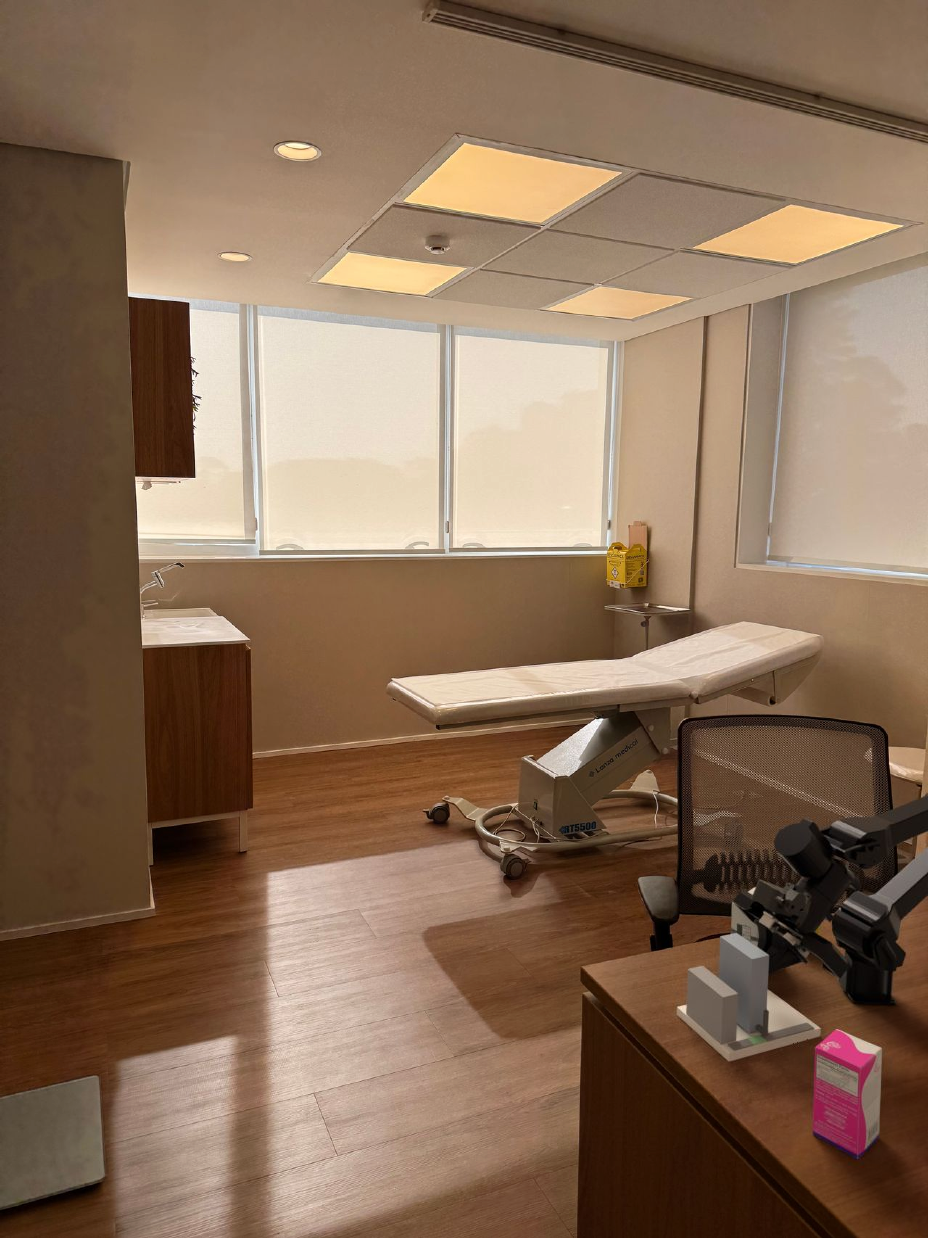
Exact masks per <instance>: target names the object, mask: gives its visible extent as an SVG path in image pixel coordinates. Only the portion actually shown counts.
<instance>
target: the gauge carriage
mask: <svg viewBox="0 0 928 1238" xmlns="http://www.w3.org/2000/svg"><path fill="white" fill-rule="evenodd" d="M718 950H719V953H718V954H719V955H718V956H719V957H718V973H717V974H718V975H717V977H718V978H719V979H720V980H722V981H723V982H724V983H725V984H727V985H728V986H729V987H730V988H732V989H733V990H734V991H736V992H737V993H738V1011H737V1023H738V1024H739V1025H740V1026H741V1027H742V1028H744V1029H745V1030H746V1031H747V1032H748V1033H750V1032H753V1031H757V1030H758V1031H759V1032H760V1033H761V1034H762V1035H764V1036H768V1020H769V1011H768V1010H767V991H768V990H769V989H768V988H769V975H768V970H769V955H768V954H767V953H765V952H764V951H762V950H761V949H759V948H758V947H756V946H755V945H753V944H752V943H751V942H749V941H748V940H746V939H745V938H743V937H742V936H740V935H739V934H737V933H734V934H731V933H730V934H725V935H721V936H719V949H718Z"/></svg>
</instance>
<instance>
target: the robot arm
mask: <svg viewBox="0 0 928 1238" xmlns="http://www.w3.org/2000/svg"><path fill="white" fill-rule="evenodd" d="M927 832H928V792H926V793H925V795H924V796H922V797H919V798H917V799H914V800H912V801H909V802H907V803H905V804H902V805H899V806H897V807H895V808H893V809H890V810H888V811H885V812H883V813H880V814H878V815H876V816H875V815H874V816H851V817H847V818H841V819H838V820H835V821H834V822H832V824H831V825H829V826H826V827H824V828H819V826H818V824H816V823H815V822H814V821H812V820H811V819H808V818H805V817H803V818H802V819H801V820H800V822H797V823H791V824H789V825H787V826H785V827H784V828H782V829H780V830H779V831H778V832H777V833H776V835H775V838H774V840H773V846H774V849H775V852H777V854H779V856H780V857H781V858H783V860H784V861H785V862H786V863H787V864H788V865H789V866H790V868H791V869H792V870H793V871H794V872H795V873H796V874H797V875H798V876H799V877H801V878H800V879H799V880H798V882H797V883H796V884H795V883H794V882H791V881H790V882H788V883H787V884H785V886H784V887H780V886H778V885H776V884H773V883H771V882H768V881H765V880H763V879H758V881H757V883H756V886H755V887H756V888H755V890H754V893H753V895H752V894H751V893H749V892H748V891H747V890H744V891H740V892H738V894H737V895H736V896H735V897H734V898H733V900H732V901H731V902H732V903H734V904H735V905H736V906H737V907H738V908H739V910H740V911H741V912H742V913H743V914H744V915H745V916H746V917H747V918H748V919H749V920H750V921H752V922H753V923H754V924H755V925H756V926H757V927H758V933H759V940H758V945H757V947H758V948H759V949H761V950H762V951H764V952H765V953H767V954H768V955H769V970H768V976H770V975H772V974H774V973H777V972H779V971H781V970H784V969H786V968H789V967H792V966H795V965H797V964H801V963H803V964H805V965H806V964H807V963H808V962H809V961H808V959H807V957H808V956H809V955H810V954H811V955H813V956H814V957H817V958H818V959H819V960H821V961H822V968H823V969H824V970H825V971H827V972H828V973H829V974H831V975H832V976H834V977H835V978H837V979H838V983H839V985H840V987H841V988H842V989H843V991H844V992H845V994H846V995H847V996H848V998H849V999H850V1000H851V1002H852V1003H853V1004H859V1005H860V1004H861V1005H885V1006H890V1005H891V1006H895V1005H896V1006H897V1000H896V999H895V998H894V996H893V995H892V993H893V992H892V991H893V977H894V972H896V971H897V968H901V967H903V965H904V962H905V959H906V956H907V953H906V951H905V950H904V949H903V948H902V947H901V946H900V945H899V943H897V941H898V939H899V937H900V930H901V929H900V928H901V922H902V920H903V919H904V918H905V917H906V916H908V915H909V913H911V912H912V911H913V910H914V909H915V908H916V907H918V905H919V904H921V902H922V901H924V900H925V898H927V897H928V846H927V847H926V848H924V850H922V851H921V852H920V853H919V854H918V855H917V856H916V857H915V858H913V859H912V861H910V862H909V863H908V864H907V865H905V866H904V867H903V868H902V869H901V870H899V872H898V873H897V874H895V876H894V877H893V878H891V879H890V880H889V881H888V882H887V883H885V884H884V886H883V887H881V888H880V889H879V890H878V891H876V892H875V893H874V894H870V895H868V894H865V892H864V893H863V892H862V891H861V882H860V879H859V878H860V877H859V876H860V873H859V871H857V870H855V869H853V868H851V867H849V866H847V865H846V864H845V863H844V862H843V861H846V862H848V863H850V864H851V865H854V866H856V867H858V868H860V869H863V870H870V869H873V868H874V867H876V866H877V865H879V864H880V863H882V862H883V861H885V860H886V859H888V858H889V857H890V854H891V851H892V849H893V848H894V847H895V846H897V845H900V844H901V843H904V842H906V841H909V840H912V839H914V838H916V837H918V836H920V835H923V834H925V833H927ZM834 857H837V858H834ZM838 858H839V859H838ZM841 859H842V860H843V861H841ZM848 888H851V889H854V890H855V891H854V892H853V893H852V894H851V895H850V896H849V897H848V898H847V899H846V900H845V901H843V902H841V903H839V904H838V907H839V908H838V909H837V910H836V911H835V912H834V913H833V914H832V912H831V911H832V910H833V909H834V907H836V904H837V903H838V902H839V900H840V899H841V898H842V896H843V895H844V894H845V892H846V891H847V890H848ZM773 912H774V913H775V914H774V913H773ZM824 920H825V921H827V922H829V923H831V931H832V935H833V937H834V939H835V942H836V946H835V945H834V944H833V942H832V941H830V940H828V939H826V938H825V937H824V936H821V934H820V935H818V934H817V933H815V931H816V930H817V928H818V927H819V926H820V924H821V925H822V923H823V922H824ZM820 927H821V926H820ZM793 934H794V935H793ZM837 947H839V948H841V949H843V950H844V954H842V952H841V951H840V950H839V949H838V948H837Z"/></svg>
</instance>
